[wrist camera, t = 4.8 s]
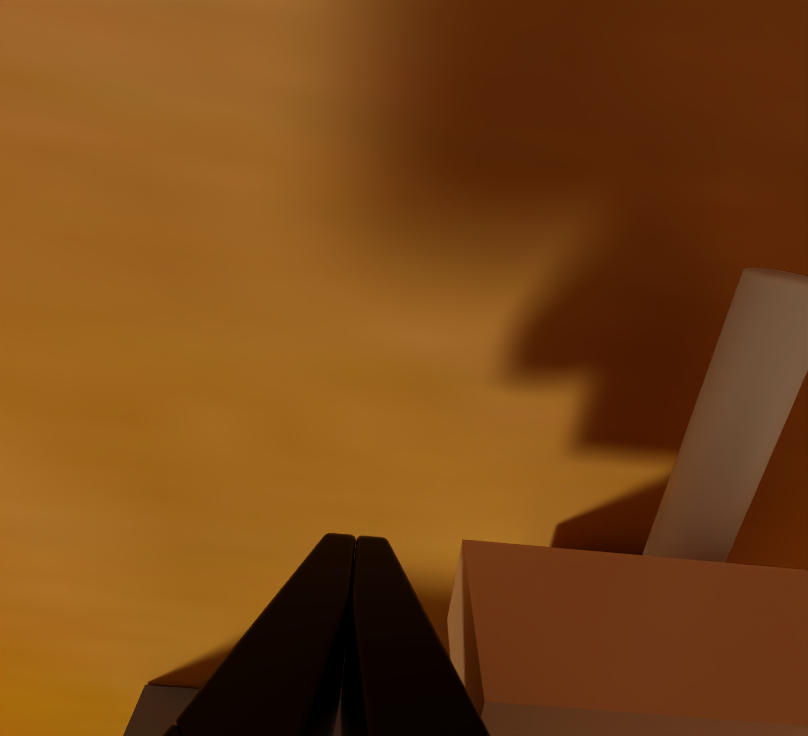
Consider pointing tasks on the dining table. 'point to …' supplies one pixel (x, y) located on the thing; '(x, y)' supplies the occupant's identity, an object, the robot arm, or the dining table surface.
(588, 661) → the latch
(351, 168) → the dining table surface
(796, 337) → the plug
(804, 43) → the dining table surface
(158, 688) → the grey block
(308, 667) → the robot arm
